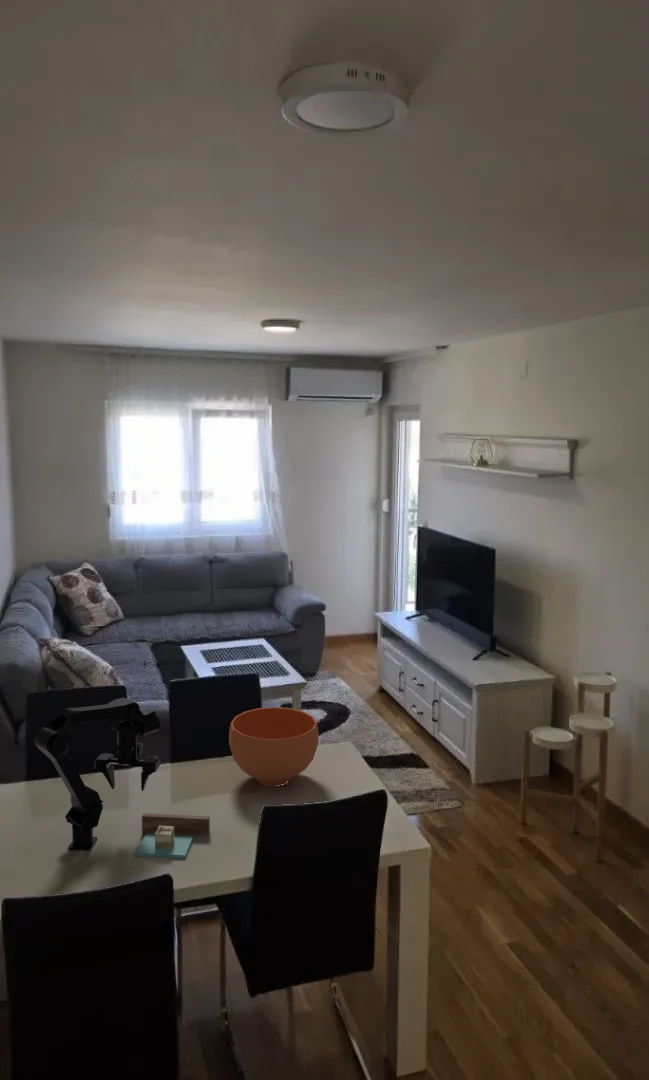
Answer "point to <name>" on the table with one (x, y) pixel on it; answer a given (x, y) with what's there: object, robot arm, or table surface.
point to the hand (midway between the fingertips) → (128, 789)
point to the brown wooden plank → (177, 823)
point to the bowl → (273, 743)
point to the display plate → (177, 850)
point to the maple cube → (164, 837)
